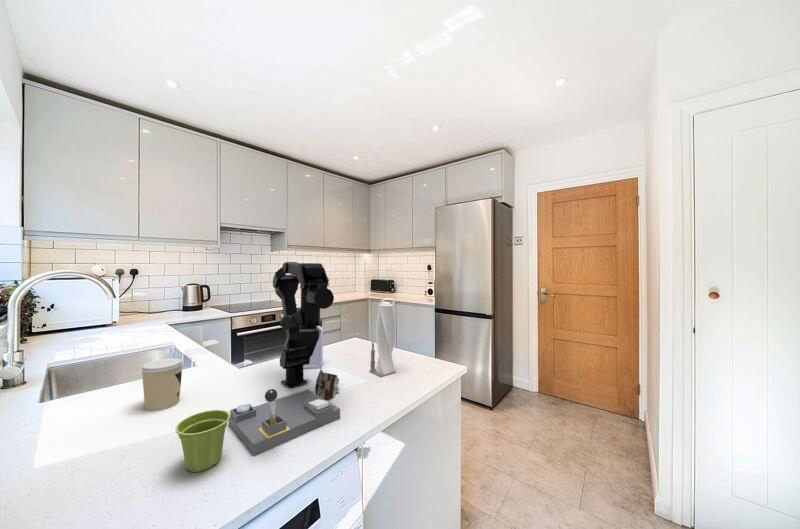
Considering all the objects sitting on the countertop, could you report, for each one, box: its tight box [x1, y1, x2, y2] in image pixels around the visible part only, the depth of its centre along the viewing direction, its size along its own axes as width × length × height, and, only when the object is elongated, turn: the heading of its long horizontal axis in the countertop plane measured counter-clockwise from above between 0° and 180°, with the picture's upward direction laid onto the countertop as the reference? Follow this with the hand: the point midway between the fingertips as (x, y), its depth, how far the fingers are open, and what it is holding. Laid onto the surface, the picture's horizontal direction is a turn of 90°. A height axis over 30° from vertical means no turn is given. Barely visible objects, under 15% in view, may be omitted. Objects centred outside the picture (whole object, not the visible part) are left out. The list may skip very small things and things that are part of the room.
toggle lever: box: [264, 388, 278, 426], centre depth 67 cm, size 3×3×11 cm
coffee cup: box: [140, 357, 184, 412], centre depth 86 cm, size 9×9×12 cm
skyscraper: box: [368, 297, 397, 378], centre depth 113 cm, size 8×8×28 cm
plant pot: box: [175, 409, 230, 473], centre depth 61 cm, size 9×9×9 cm
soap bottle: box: [303, 326, 324, 370], centre depth 118 cm, size 9×7×23 cm
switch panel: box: [227, 388, 341, 456], centre depth 77 cm, size 17×22×4 cm
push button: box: [236, 403, 251, 415], centre depth 75 cm, size 3×3×1 cm
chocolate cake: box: [313, 369, 340, 400], centre depth 95 cm, size 10×7×12 cm
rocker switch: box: [308, 399, 330, 410], centre depth 79 cm, size 5×3×1 cm, turn 46°
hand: (310, 355), depth 90 cm, fingers closed
